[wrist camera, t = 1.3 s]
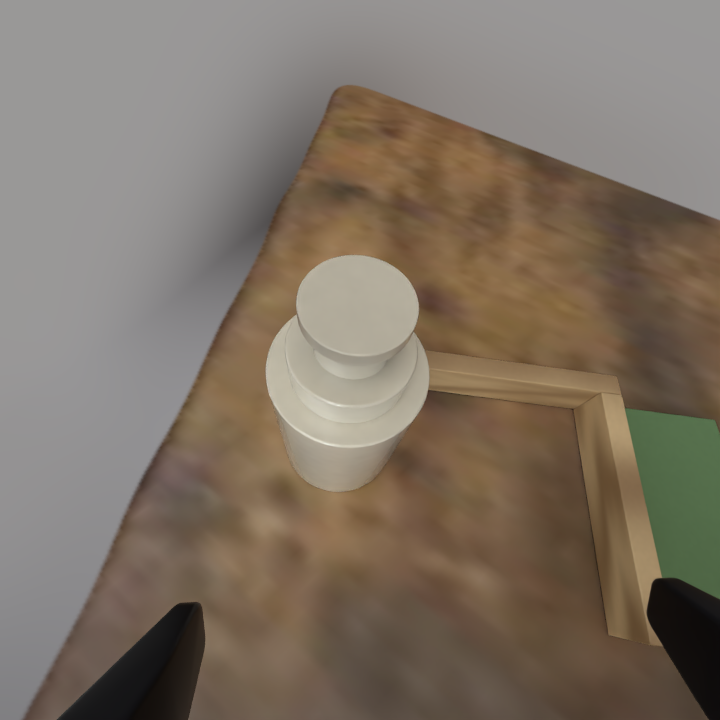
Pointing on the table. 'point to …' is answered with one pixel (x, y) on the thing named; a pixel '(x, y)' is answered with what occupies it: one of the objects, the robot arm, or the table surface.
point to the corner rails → (600, 469)
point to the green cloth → (681, 493)
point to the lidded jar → (348, 371)
